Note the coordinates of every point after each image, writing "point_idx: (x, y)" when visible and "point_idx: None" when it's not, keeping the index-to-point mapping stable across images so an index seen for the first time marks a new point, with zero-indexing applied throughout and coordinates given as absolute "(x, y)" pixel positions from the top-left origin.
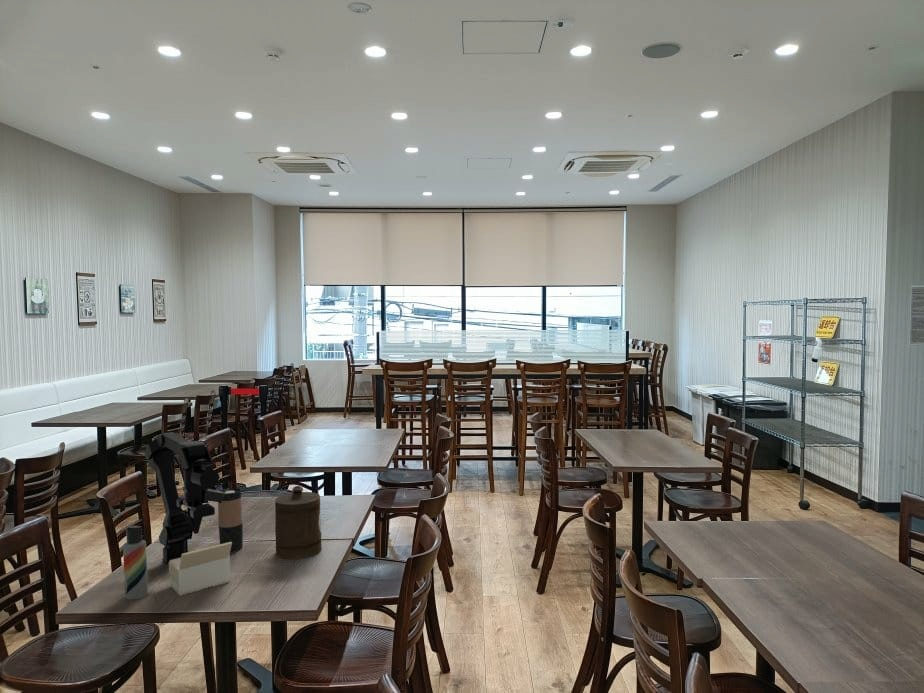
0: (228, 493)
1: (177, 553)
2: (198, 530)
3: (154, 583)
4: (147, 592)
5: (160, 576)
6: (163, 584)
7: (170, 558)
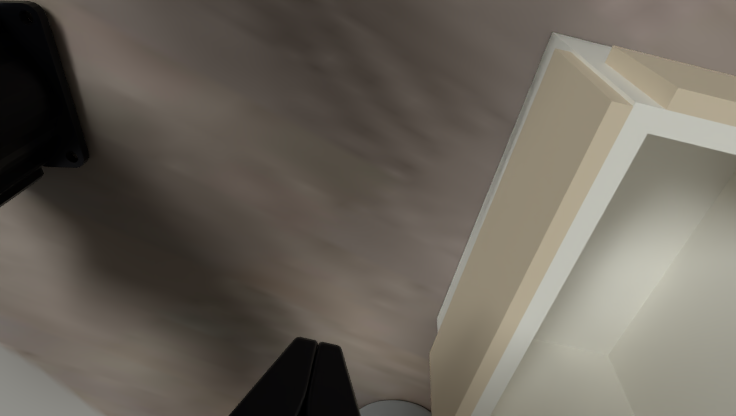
0: None
1: (14, 138)
2: (352, 388)
3: (318, 338)
4: (425, 413)
5: (241, 281)
6: (375, 324)
7: (29, 168)
